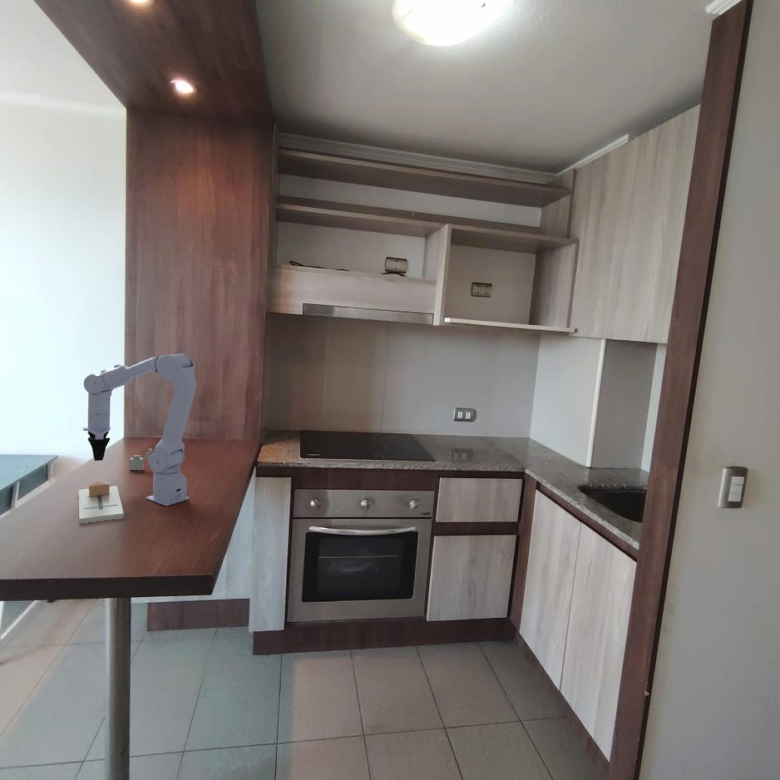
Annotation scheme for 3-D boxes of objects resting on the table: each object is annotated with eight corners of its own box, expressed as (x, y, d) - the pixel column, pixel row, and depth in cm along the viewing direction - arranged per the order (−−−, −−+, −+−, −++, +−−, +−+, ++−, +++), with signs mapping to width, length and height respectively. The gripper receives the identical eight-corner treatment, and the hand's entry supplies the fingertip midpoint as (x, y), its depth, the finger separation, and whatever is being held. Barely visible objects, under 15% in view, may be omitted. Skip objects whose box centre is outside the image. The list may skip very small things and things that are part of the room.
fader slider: (88, 492, 141) (88, 482, 141) (108, 490, 144) (108, 481, 144) (89, 496, 139) (89, 486, 139) (109, 494, 142) (109, 484, 141)
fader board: (78, 494, 145) (78, 489, 145) (116, 490, 150) (117, 485, 150) (79, 524, 125) (79, 518, 125) (123, 518, 130) (123, 512, 130)
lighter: (129, 470, 170) (129, 448, 169) (130, 469, 171) (131, 447, 170) (151, 470, 172) (151, 448, 171) (152, 469, 173) (153, 447, 172)
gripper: (83, 408, 150) (82, 451, 152) (83, 418, 138) (82, 464, 140) (109, 408, 154) (108, 450, 156) (111, 417, 142) (110, 462, 144)
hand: (98, 456), depth 148 cm, fingers open, 7 cm apart
